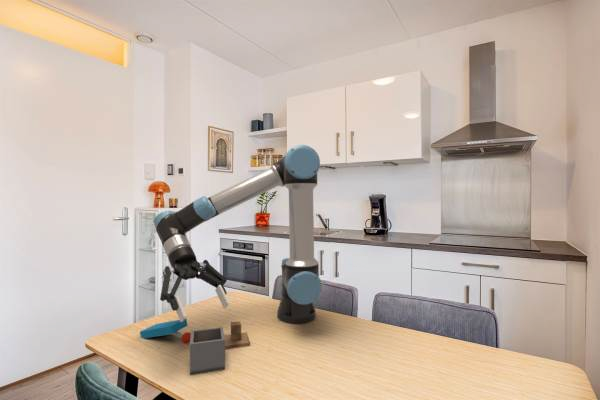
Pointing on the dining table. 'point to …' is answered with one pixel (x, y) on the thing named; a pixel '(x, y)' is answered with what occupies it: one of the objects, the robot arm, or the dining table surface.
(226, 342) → the tee
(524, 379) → the dining table surface
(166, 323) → the lever
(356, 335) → the dining table surface
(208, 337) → the square storage bin
